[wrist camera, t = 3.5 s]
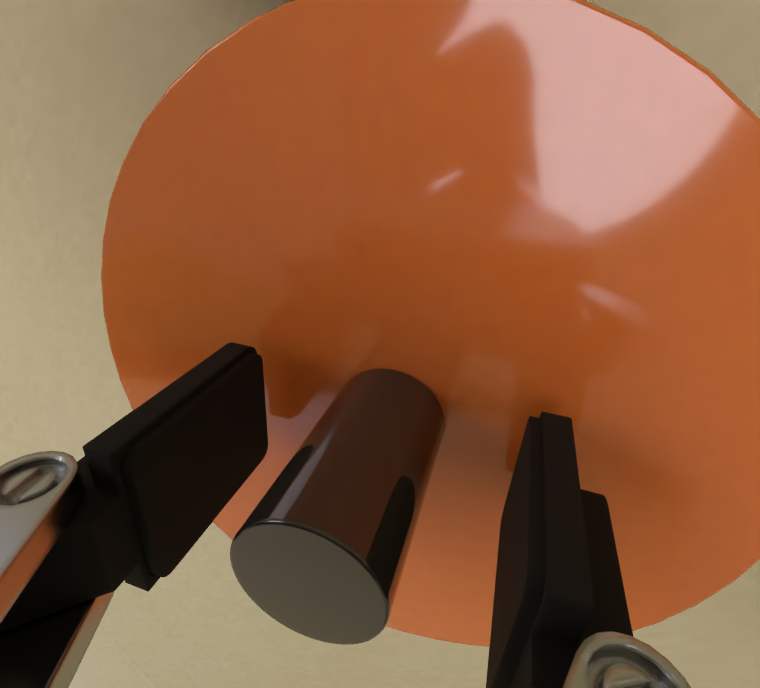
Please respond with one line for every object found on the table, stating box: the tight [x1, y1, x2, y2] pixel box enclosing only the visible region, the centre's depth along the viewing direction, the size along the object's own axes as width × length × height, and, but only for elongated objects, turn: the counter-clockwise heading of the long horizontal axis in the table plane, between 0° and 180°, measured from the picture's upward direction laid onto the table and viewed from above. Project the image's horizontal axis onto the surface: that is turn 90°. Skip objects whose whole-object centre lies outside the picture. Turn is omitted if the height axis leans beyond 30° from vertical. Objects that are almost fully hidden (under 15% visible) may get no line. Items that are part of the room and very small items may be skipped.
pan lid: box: [101, 0, 760, 646], centre depth 9 cm, size 16×16×6 cm
